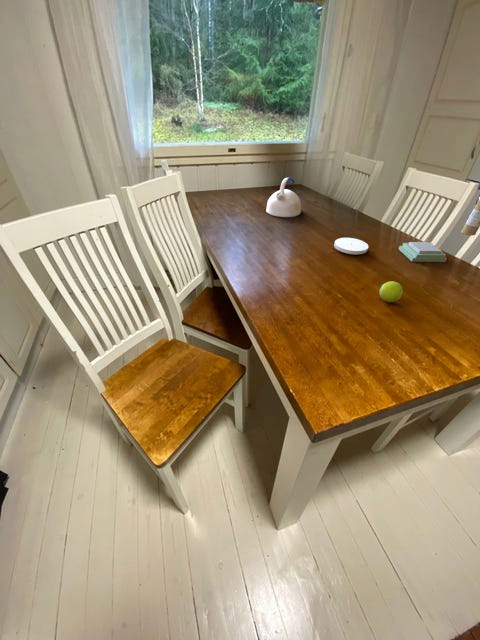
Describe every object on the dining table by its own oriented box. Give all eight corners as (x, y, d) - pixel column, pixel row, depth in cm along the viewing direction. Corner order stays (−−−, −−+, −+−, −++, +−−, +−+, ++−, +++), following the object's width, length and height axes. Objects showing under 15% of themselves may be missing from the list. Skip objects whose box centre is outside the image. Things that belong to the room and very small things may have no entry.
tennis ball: (378, 292, 93) (385, 275, 89) (399, 298, 91) (407, 281, 86) (374, 302, 89) (381, 284, 84) (397, 308, 86) (405, 290, 82)
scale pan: (428, 245, 118) (429, 242, 117) (440, 254, 111) (442, 251, 110) (407, 245, 118) (409, 241, 117) (418, 254, 111) (420, 250, 110)
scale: (429, 249, 121) (432, 243, 119) (445, 262, 112) (449, 255, 110) (398, 249, 121) (400, 242, 119) (411, 261, 112) (414, 254, 110)
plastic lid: (373, 252, 118) (375, 246, 116) (351, 259, 112) (353, 253, 111) (348, 240, 127) (350, 235, 126) (326, 246, 122) (328, 241, 120)
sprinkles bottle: (469, 231, 101) (491, 192, 92) (478, 236, 97) (502, 196, 89) (457, 231, 101) (478, 192, 92) (465, 236, 97) (488, 196, 88)
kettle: (259, 213, 156) (261, 178, 145) (275, 204, 170) (278, 172, 159) (292, 220, 148) (297, 183, 137) (306, 210, 162) (311, 176, 151)
